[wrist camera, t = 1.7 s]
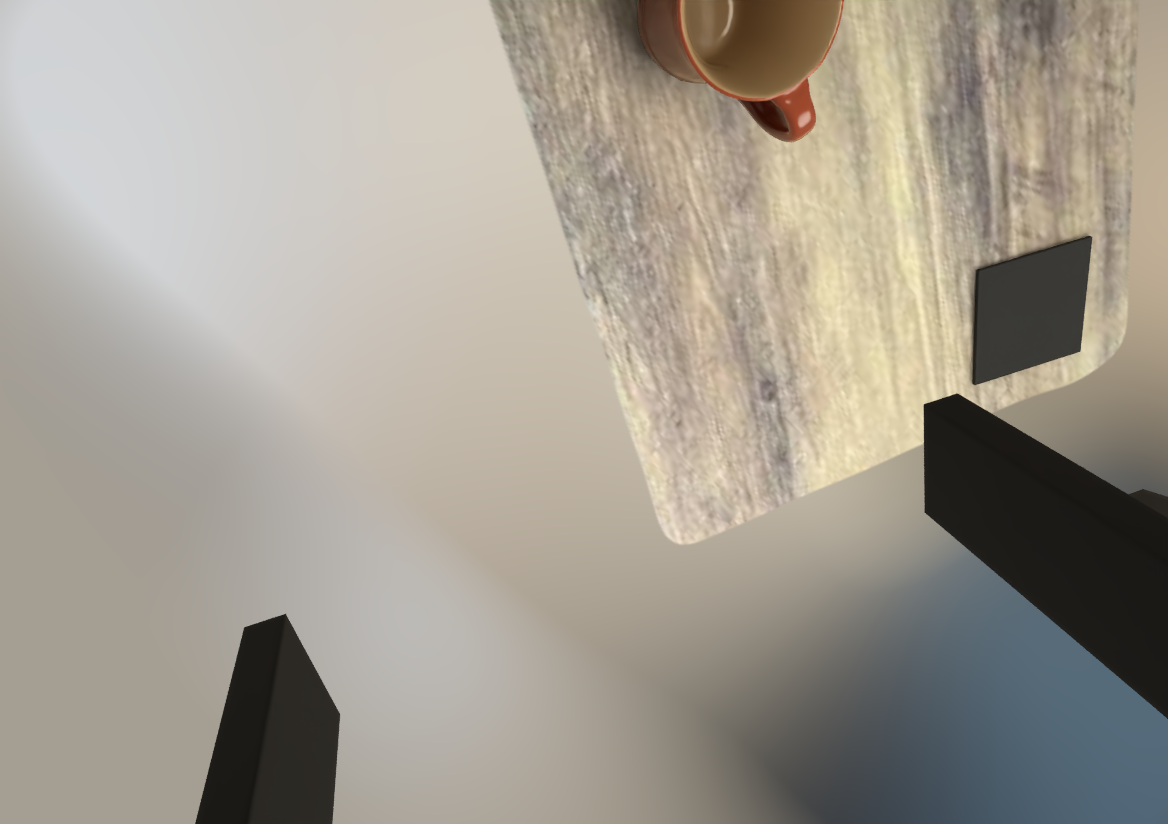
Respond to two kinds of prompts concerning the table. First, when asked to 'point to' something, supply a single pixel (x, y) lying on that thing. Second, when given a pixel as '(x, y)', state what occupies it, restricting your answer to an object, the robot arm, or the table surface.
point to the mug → (746, 52)
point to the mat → (1030, 310)
